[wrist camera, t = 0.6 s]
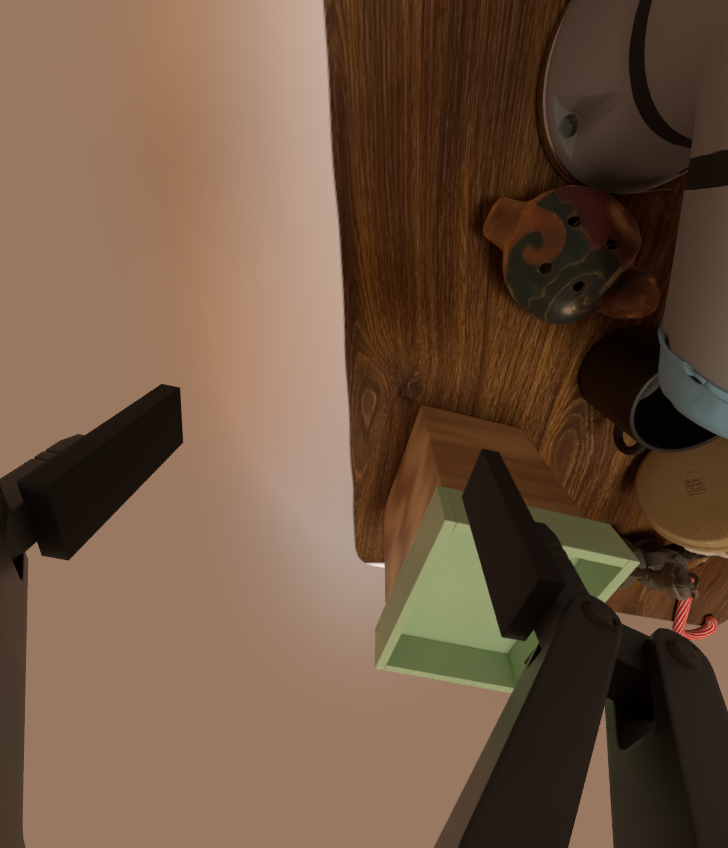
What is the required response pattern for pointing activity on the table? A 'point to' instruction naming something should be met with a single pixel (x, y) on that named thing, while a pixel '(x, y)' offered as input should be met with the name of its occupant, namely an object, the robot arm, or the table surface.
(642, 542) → the toy robot
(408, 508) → the tray stand
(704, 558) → the bird model
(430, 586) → the dish tray
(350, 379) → the table surface
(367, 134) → the table surface
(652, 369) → the mug
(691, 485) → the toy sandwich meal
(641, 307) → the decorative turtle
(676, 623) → the candy cane
